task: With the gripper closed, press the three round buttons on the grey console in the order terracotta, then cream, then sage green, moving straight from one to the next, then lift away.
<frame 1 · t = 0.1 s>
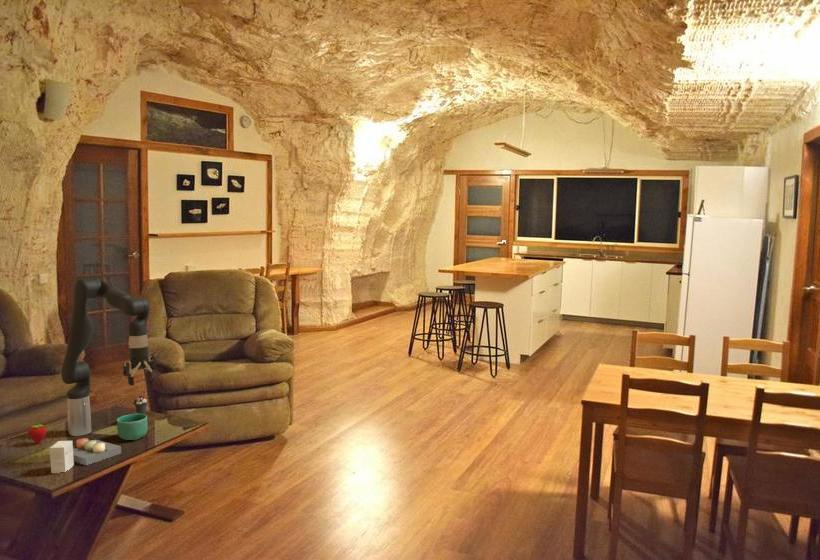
hand: (140, 383, 278), 29 cm above the table, tool pointing down, fingers open, 8 cm apart
button sage: (90, 446, 274), point 4 cm above the table, slide at 0.0 cm
mug: (135, 437, 298), on the table
small box: (62, 470, 260), on the table
sundae: (141, 422, 318), on the table
button terracotta: (82, 444, 277), point 4 cm above the table, slide at 0.0 cm
console: (91, 455, 275), on the table
strawberry: (38, 444, 290), on the table
button cream: (98, 448, 271), point 4 cm above the table, slide at 0.0 cm
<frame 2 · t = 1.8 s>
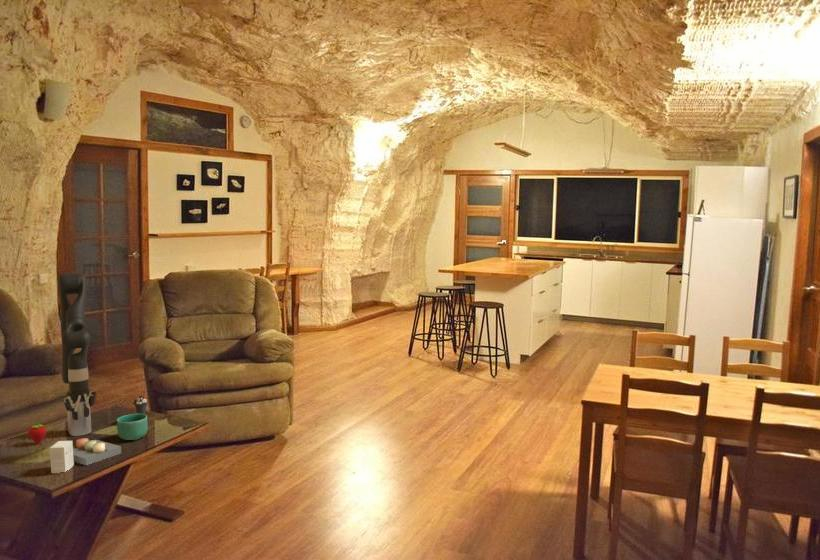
hand: (81, 418, 276), 15 cm above the table, tool pointing down, fingers open, 4 cm apart
nothing on the table moved.
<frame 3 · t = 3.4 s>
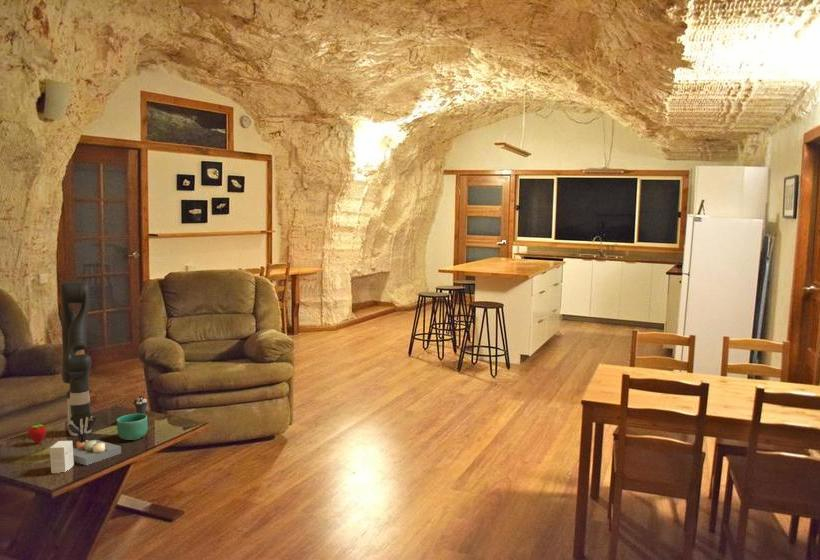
hand: (82, 441, 277), 5 cm above the table, tool pointing down, fingers closed
button terracotta: (82, 445, 277), point 3 cm above the table, slide at -0.8 cm, touching gripper
everything else where it was.
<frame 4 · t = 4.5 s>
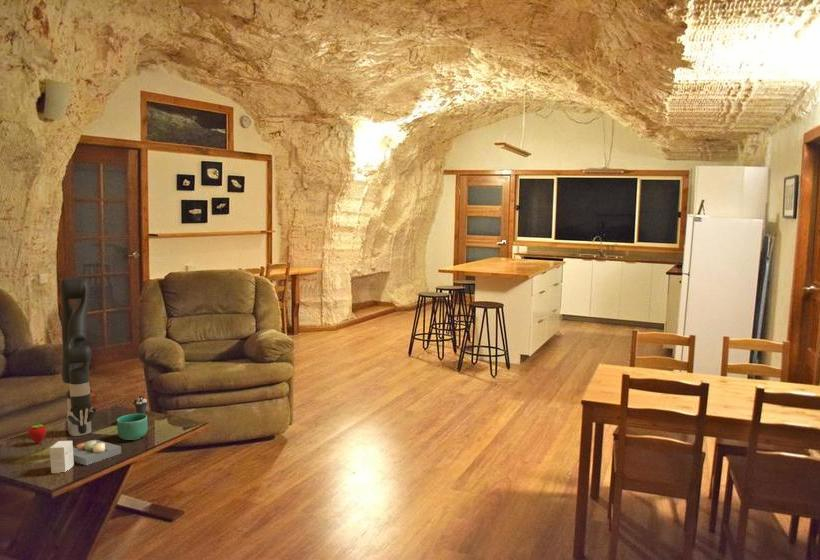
hand: (82, 433, 276), 9 cm above the table, tool pointing down, fingers closed
button terracotta: (82, 448, 277), point 2 cm above the table, slide at -2.0 cm
everything else where it was.
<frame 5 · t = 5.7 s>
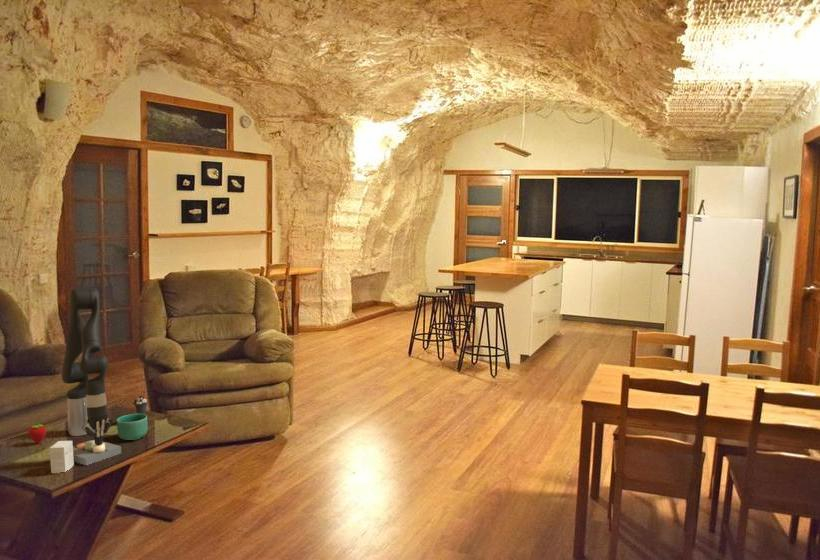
hand: (99, 444, 271), 6 cm above the table, tool pointing down, fingers closed
button cream: (99, 448, 271), point 4 cm above the table, slide at -0.2 cm, touching gripper
everything else where it was.
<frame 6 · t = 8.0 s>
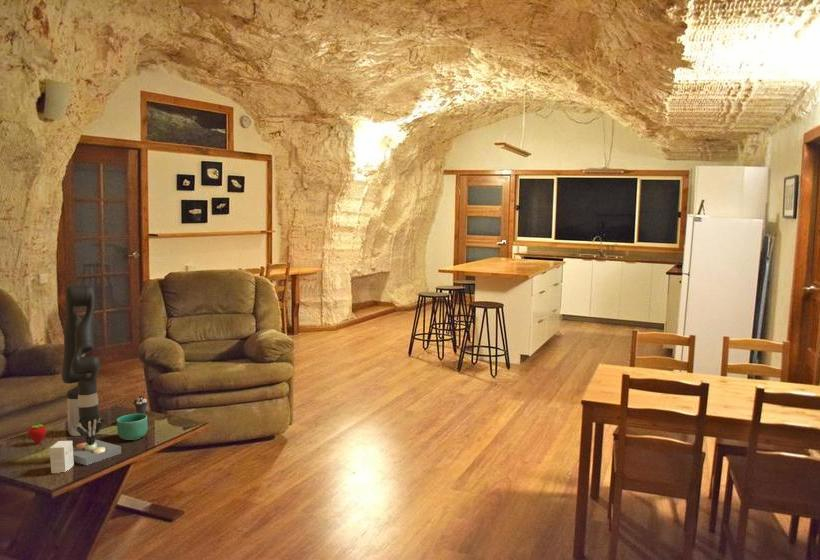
hand: (90, 444, 274), 5 cm above the table, tool pointing down, fingers closed
button sage: (90, 448, 274), point 3 cm above the table, slide at -0.9 cm, touching gripper
button cream: (99, 453, 272), point 2 cm above the table, slide at -1.9 cm
everything else where it was.
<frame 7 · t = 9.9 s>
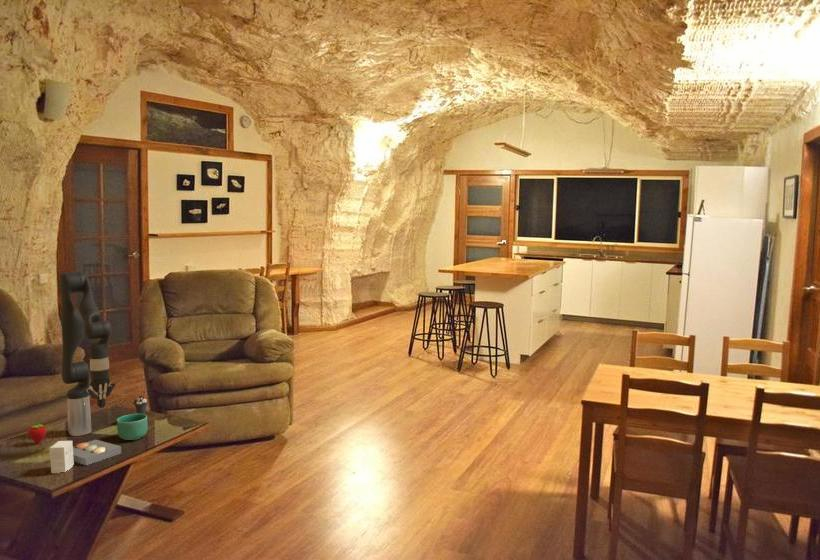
hand: (101, 407, 282), 18 cm above the table, tool pointing down, fingers closed
button sage: (90, 450, 274), point 2 cm above the table, slide at -1.9 cm
everything else where it was.
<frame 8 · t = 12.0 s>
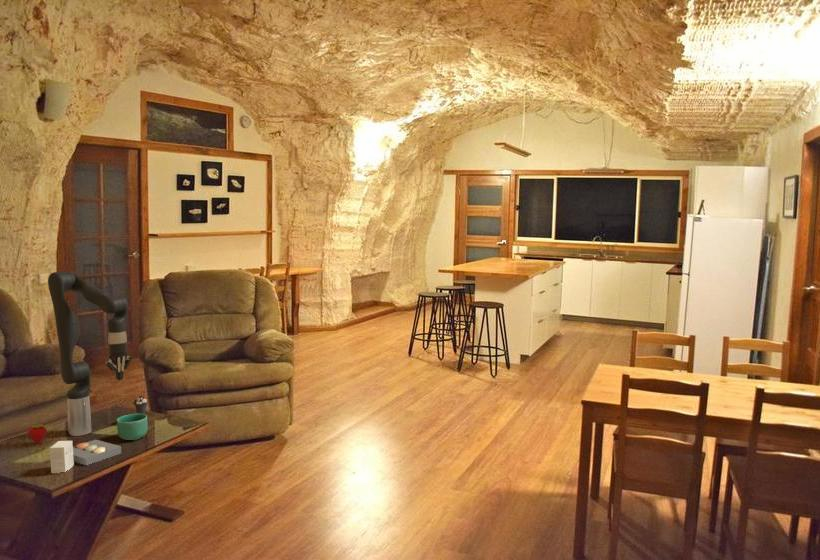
hand: (119, 379, 293), 27 cm above the table, tool pointing down, fingers closed
nothing on the table moved.
at the end: button terracotta slide at -2.0 cm; button cream slide at -1.9 cm; button sage slide at -1.9 cm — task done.
